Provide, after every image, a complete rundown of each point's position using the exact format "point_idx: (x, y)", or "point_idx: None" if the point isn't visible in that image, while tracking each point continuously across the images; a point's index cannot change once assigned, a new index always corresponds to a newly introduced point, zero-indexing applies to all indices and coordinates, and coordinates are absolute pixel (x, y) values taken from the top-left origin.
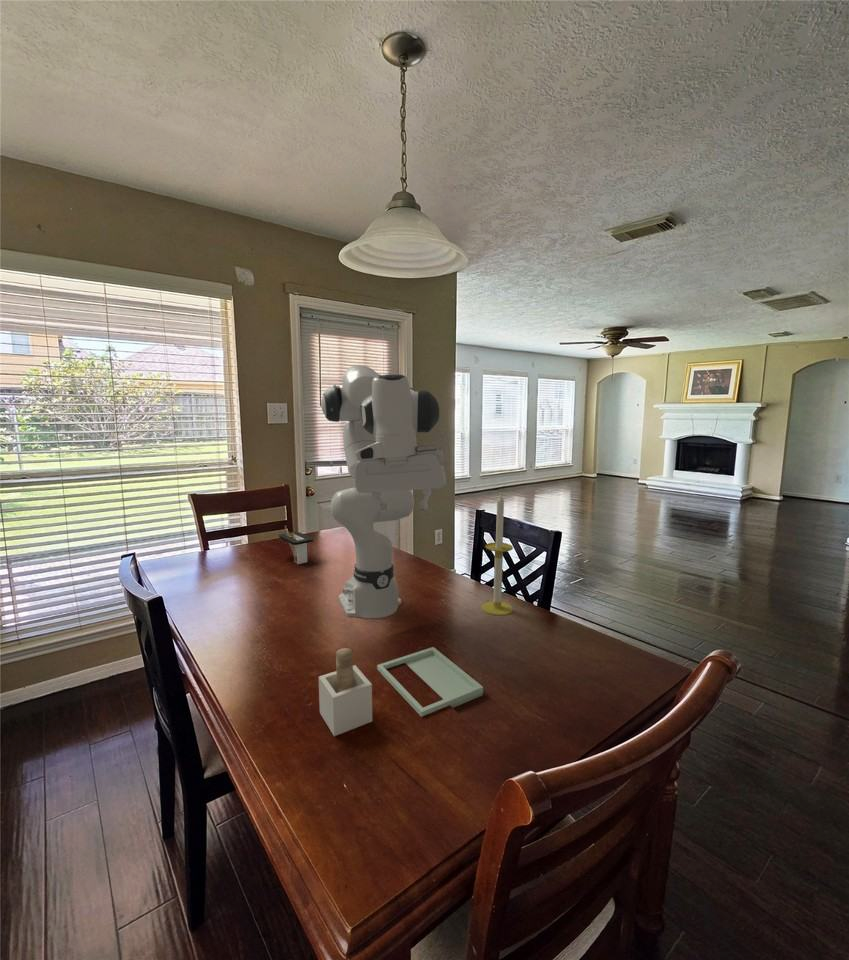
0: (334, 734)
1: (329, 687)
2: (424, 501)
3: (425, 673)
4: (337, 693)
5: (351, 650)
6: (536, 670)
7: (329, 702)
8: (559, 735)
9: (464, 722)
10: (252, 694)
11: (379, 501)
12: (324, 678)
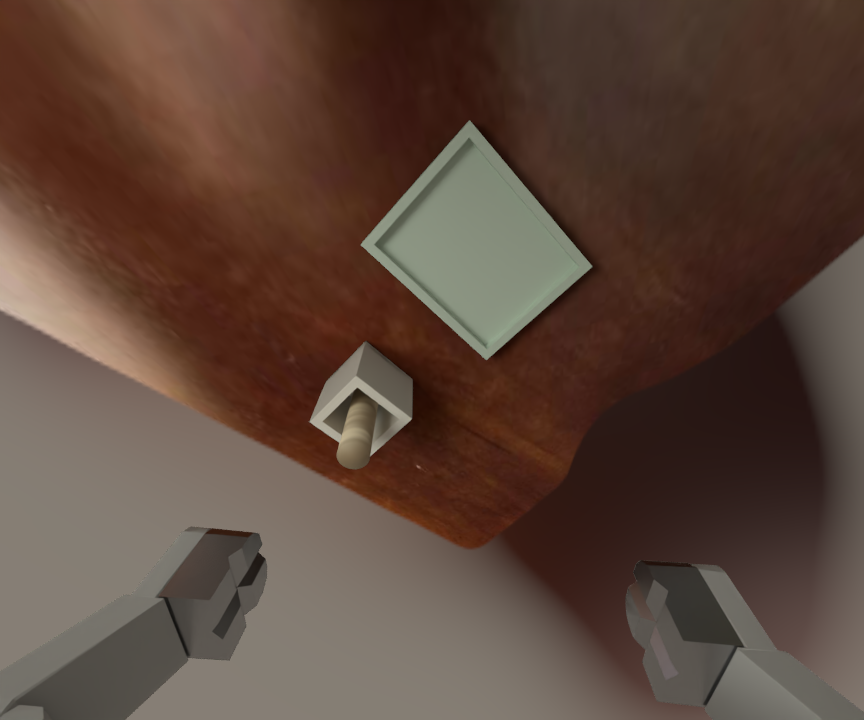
0: None
1: None
2: (737, 717)
3: (467, 230)
4: None
5: (363, 447)
6: (718, 135)
7: None
8: (696, 332)
9: (551, 339)
10: (179, 360)
11: (143, 685)
12: (322, 423)
